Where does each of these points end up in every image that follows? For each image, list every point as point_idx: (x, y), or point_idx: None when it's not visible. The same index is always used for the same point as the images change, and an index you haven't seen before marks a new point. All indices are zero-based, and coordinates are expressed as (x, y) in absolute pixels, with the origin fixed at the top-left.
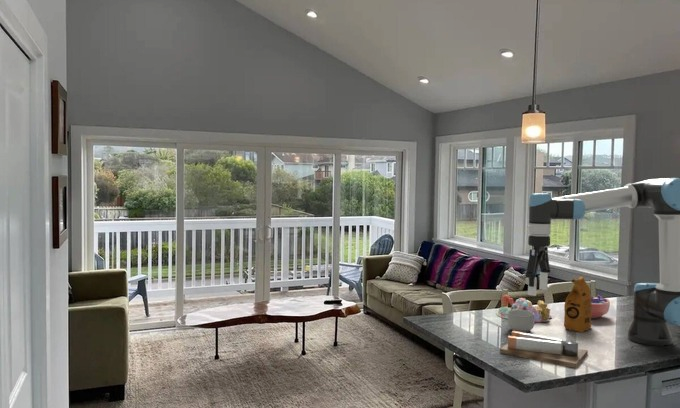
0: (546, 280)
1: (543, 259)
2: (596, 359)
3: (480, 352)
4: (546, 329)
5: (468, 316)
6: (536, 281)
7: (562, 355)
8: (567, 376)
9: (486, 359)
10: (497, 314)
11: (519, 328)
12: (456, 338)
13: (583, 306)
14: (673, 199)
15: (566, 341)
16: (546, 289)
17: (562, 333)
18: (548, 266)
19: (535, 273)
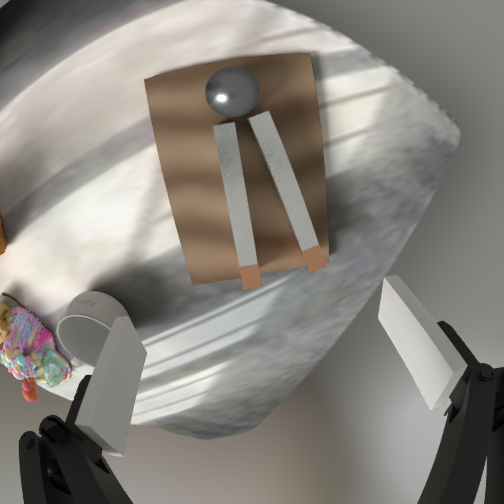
0: (109, 373)
1: None
2: (177, 43)
3: (352, 286)
4: (42, 273)
5: None
6: (438, 346)
7: (262, 106)
8: (381, 61)
9: (389, 252)
10: (68, 379)
11: (125, 311)
12: (288, 362)
13: None
14: None
15: (226, 107)
16: (128, 320)
17: (34, 231)
18: (39, 466)
19: (489, 395)
